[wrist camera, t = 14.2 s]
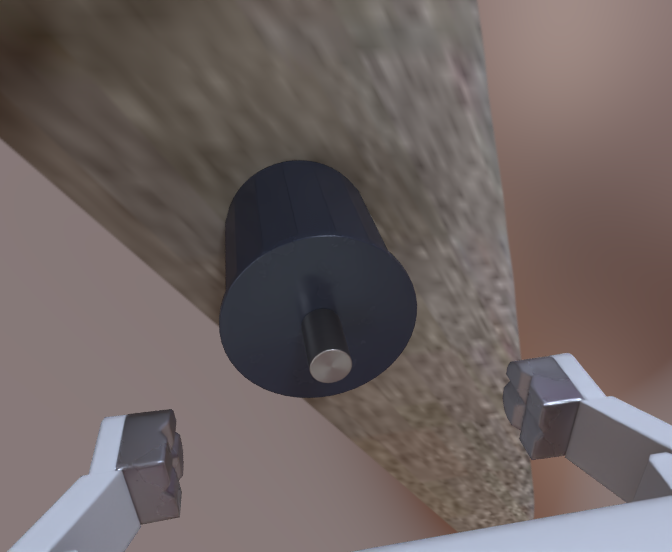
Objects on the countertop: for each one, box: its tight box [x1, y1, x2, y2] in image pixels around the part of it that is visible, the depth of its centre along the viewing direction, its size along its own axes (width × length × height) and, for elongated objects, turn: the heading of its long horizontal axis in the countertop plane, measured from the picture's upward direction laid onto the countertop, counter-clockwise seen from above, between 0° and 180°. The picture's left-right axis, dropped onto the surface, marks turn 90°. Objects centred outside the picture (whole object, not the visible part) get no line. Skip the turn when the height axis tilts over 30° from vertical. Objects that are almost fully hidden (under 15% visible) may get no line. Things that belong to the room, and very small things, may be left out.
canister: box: [225, 160, 388, 290], centre depth 41 cm, size 11×11×12 cm
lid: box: [219, 231, 417, 398], centre depth 34 cm, size 12×12×5 cm
